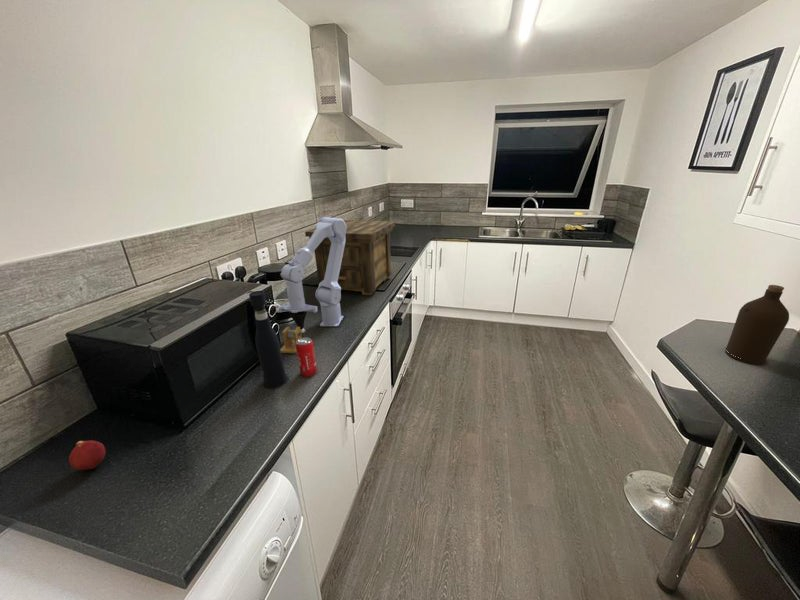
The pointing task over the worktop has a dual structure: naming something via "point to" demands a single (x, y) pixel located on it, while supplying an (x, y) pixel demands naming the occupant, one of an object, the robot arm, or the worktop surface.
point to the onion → (87, 455)
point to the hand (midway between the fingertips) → (301, 328)
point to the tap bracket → (290, 340)
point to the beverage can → (306, 356)
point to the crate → (359, 255)
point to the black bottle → (267, 344)
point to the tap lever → (290, 332)
